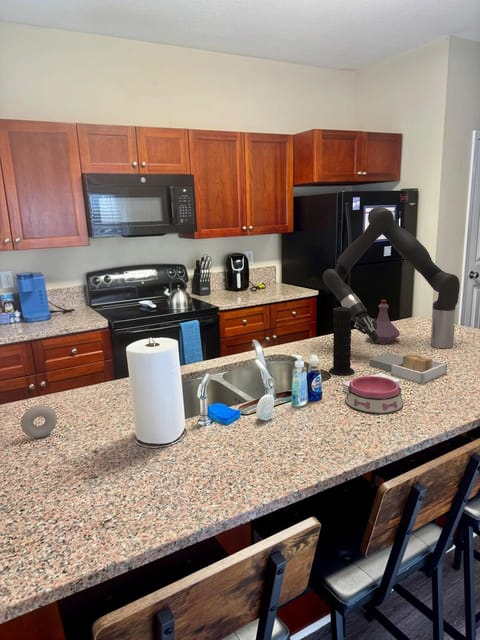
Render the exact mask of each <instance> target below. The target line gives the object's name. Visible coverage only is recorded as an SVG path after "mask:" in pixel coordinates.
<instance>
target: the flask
mask: <svg viewBox="0 0 480 640" xmlns="http://www.w3.org/2000/svg"><path fill="white" fill-rule="evenodd" d="M389 307H390V306H389V304H387V299H381V300H380V304H378V309H379V312H378V316H377V318H376V321H377V329H376V330H375V332H376V333H377V335H378V336H379V339H378V340H377V341H375V342H374V341H373V340H372V338H371V337H370V336H369V335H368V334H366V335H367V336H368V337H369V339H370V340H371V341H372V342H373V343H377V344H382V343H383V344H385V345H386V344H391V343H393V342H394V341H395V340H396V339H398V337H399V336H401V333H400V330H398V329H397V327H396V326H395V325H394V324H393V323H392V322H391V321H390V317H389V313H388V310H389Z"/></svg>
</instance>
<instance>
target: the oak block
mask: <svg viewBox="0 0 480 640" xmlns="http://www.w3.org/2000/svg"><path fill="white" fill-rule="evenodd" d="M402 357H403V367H404V368H408V369H411V370H415V371H418V372H424V371H427V370H429V369H432V360H433V358H431V357H426V356H423V355H419V354H414V353H408V354H405V355H403V356H402Z"/></svg>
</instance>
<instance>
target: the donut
mask: <svg viewBox="0 0 480 640" xmlns="http://www.w3.org/2000/svg"><path fill="white" fill-rule="evenodd" d="M38 417H39V418H43V419H44V420H45V421H44V423H43V424H42V425H39V426H38V425H35V424H34V421H35V420H36V419H37V418H38ZM57 423H58V416H57V412H55V410H54V409H53V408H52V407H50V406H49V405H44V404H43V405H42V404H40V405H35V406H32V407H30V408H29V409H28V410H26V411H25V413H23V415H22V417H21V420H20V428H21V431H22V432H23V433H24V434H25V435H26V436H28V437H30V438H35V439H37V438H43V437H46V436H48V435H49V434H51V433H52V432H53V430H54V429H55V428H56V425H57Z"/></svg>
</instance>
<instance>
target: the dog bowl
mask: <svg viewBox="0 0 480 640" xmlns="http://www.w3.org/2000/svg"><path fill="white" fill-rule="evenodd" d="M348 384H349V385H348V387H347V392H346V395H345V397H344V398H345V399H344V403H345V405H346V406H348V408H349V409H352V410H354V411H356V412H359V413H363V414H368V415H390V414H394V413H397V412H400V411H402V409H403V408H404V401H403V398H402V391H401V388H400V385H399V383H398V382H397V381H395V380H393V379H392V378H391V379H390V378H388V377H384V376H383V377H382V376H379V375H378V376H374V375H365V376H359V377H355V378H353V379H352V380H350V382H349V383H348Z"/></svg>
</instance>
